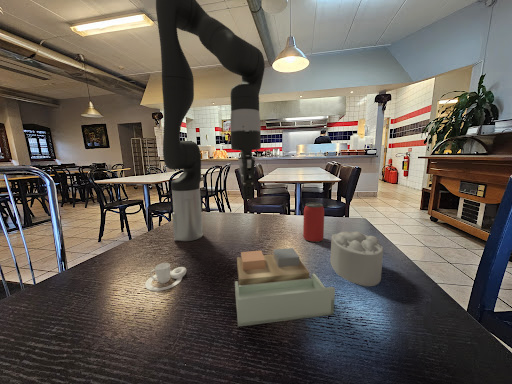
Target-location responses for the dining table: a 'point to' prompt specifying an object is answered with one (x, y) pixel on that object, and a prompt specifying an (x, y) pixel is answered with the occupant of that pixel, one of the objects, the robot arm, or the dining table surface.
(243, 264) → the terracotta tile
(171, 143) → the robot arm
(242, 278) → the board
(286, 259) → the slate tile
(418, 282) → the dining table surface
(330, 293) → the tray
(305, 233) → the beer can
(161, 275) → the teacup and saucer
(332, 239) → the lumpy-topped squat cylinder
